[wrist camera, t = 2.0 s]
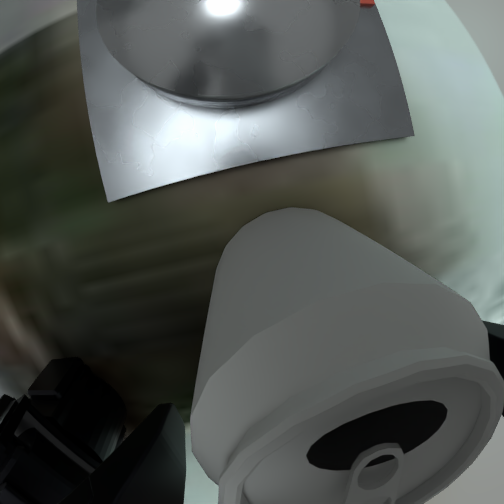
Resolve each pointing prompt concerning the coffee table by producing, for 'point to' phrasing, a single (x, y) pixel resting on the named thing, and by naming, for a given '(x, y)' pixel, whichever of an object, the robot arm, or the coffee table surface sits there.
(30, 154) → the coffee table surface
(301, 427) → the can
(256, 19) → the square metal dish
